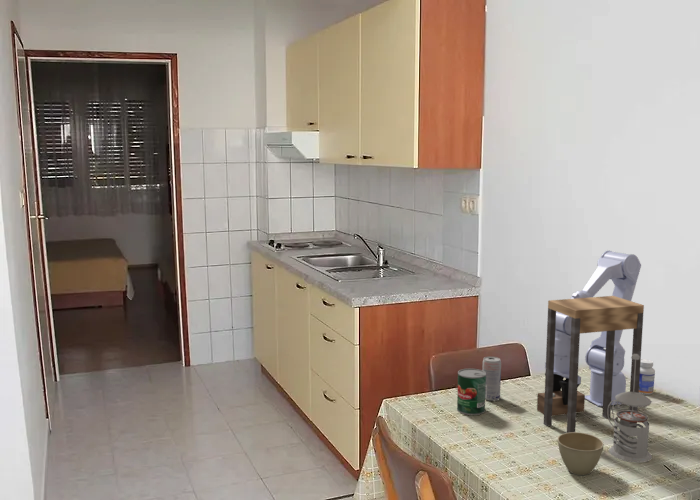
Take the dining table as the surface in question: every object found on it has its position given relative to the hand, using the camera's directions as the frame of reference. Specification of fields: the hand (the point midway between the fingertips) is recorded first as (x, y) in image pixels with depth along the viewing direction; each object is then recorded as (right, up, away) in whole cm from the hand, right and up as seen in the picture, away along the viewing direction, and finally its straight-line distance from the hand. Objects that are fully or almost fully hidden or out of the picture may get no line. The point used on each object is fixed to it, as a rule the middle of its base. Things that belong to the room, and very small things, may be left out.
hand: (561, 400), depth 193 cm
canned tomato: (-25, -3, +1) cm, 25 cm away
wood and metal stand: (+4, -5, -12) cm, 13 cm away
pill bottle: (+30, -1, +15) cm, 34 cm away
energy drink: (-18, -2, +11) cm, 21 cm away
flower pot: (-7, -8, -36) cm, 37 cm away
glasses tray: (0, -3, 0) cm, 3 cm away
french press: (+8, -7, -26) cm, 28 cm away
